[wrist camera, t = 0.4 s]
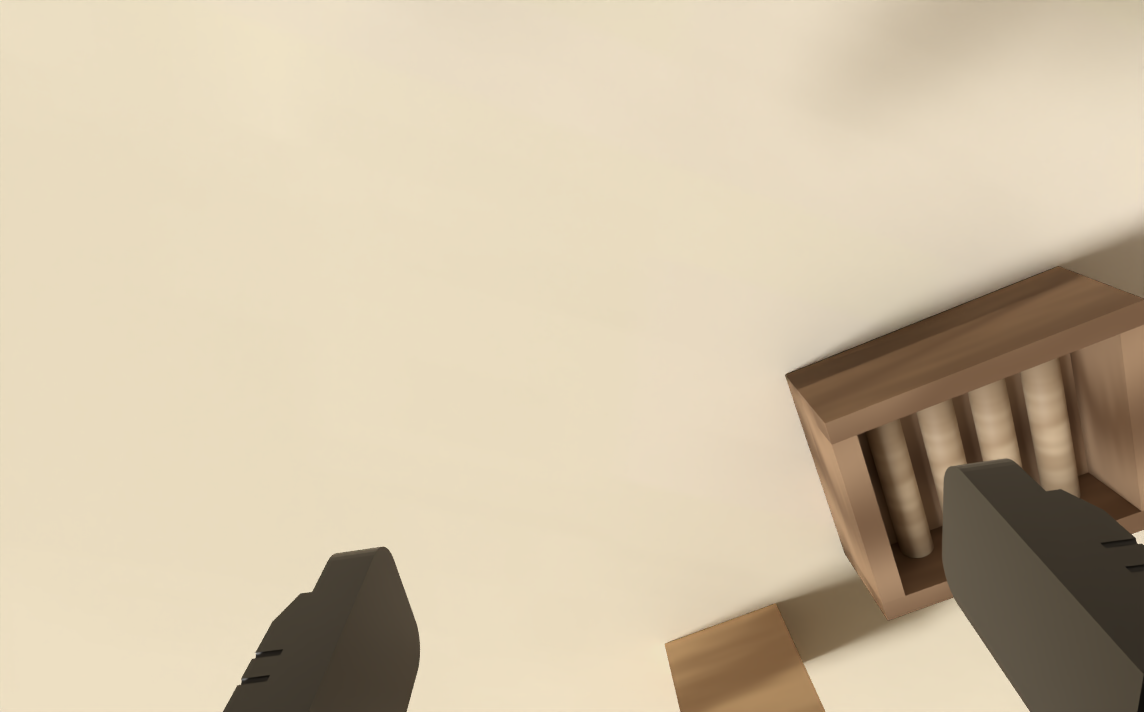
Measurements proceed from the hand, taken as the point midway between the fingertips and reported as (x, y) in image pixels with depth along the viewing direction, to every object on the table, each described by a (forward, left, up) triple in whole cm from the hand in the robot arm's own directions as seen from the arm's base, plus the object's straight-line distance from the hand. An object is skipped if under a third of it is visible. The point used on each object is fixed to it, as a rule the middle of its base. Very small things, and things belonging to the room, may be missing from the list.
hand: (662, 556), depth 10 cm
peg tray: (+14, +12, -19) cm, 27 cm away
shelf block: (+23, -1, -19) cm, 30 cm away
